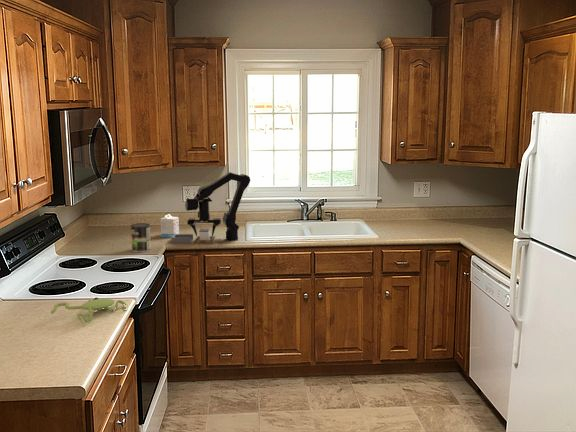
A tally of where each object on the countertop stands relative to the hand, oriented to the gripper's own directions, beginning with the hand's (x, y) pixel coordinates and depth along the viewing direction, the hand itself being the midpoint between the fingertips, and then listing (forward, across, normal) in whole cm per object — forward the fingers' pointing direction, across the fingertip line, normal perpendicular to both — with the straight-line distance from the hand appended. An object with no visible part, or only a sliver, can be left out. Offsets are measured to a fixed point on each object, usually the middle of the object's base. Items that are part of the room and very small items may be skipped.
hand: (204, 236), depth 357 cm
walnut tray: (+3, 0, 0) cm, 3 cm away
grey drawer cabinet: (+3, +13, 0) cm, 13 cm away
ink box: (+4, +22, -14) cm, 27 cm away
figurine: (+4, +30, +122) cm, 125 cm away
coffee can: (+4, +32, +19) cm, 38 cm away
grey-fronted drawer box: (+3, 0, 0) cm, 3 cm away
